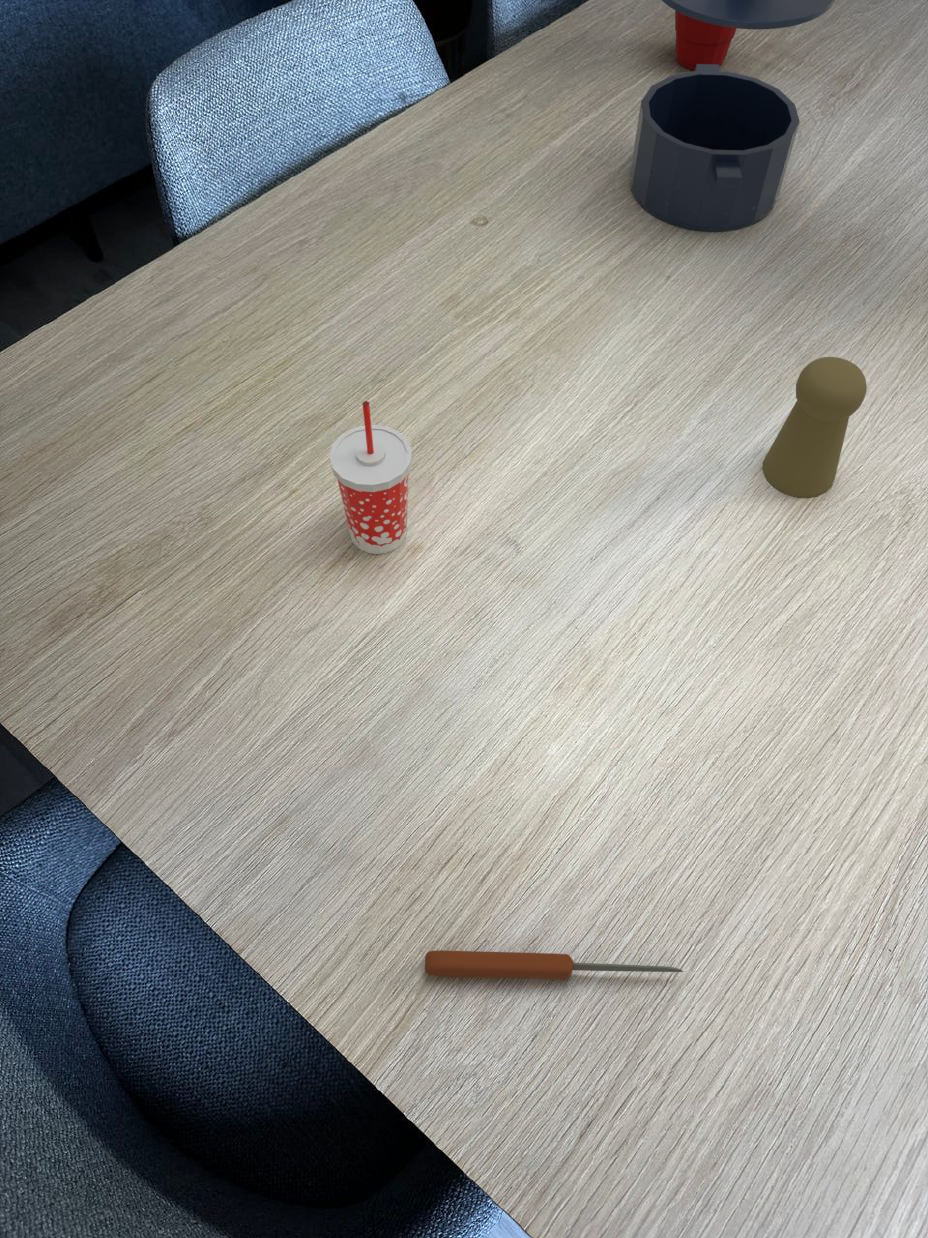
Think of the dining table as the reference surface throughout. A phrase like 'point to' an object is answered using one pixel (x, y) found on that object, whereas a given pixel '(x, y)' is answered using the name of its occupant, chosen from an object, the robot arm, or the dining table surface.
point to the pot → (712, 149)
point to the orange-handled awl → (517, 965)
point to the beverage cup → (373, 484)
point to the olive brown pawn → (815, 428)
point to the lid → (752, 12)
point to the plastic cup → (700, 41)
